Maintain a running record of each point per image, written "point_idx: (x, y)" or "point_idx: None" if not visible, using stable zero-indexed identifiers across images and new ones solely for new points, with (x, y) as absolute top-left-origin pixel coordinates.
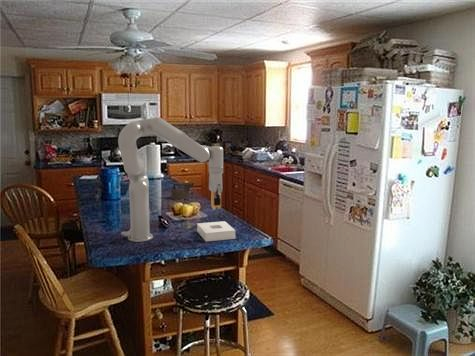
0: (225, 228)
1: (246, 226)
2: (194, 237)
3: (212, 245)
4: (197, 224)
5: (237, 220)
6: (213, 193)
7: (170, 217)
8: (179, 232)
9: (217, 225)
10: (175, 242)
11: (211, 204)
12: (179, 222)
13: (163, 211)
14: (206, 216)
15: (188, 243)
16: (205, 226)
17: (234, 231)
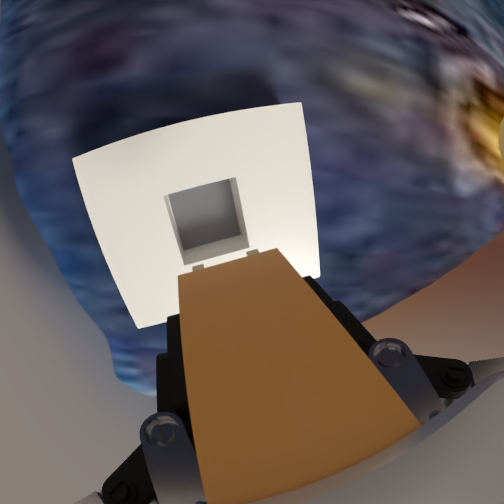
0: (171, 281)
1: None
2: (167, 85)
3: (39, 194)
4: (293, 103)
5: (390, 303)
6: (206, 480)
7: (460, 56)
8: (272, 17)
9: (246, 233)
10: (101, 6)
11: (267, 264)
12: (416, 61)
13: (495, 65)
14: (457, 189)
15: (72, 67)
16: (223, 151)
17: (136, 321)
